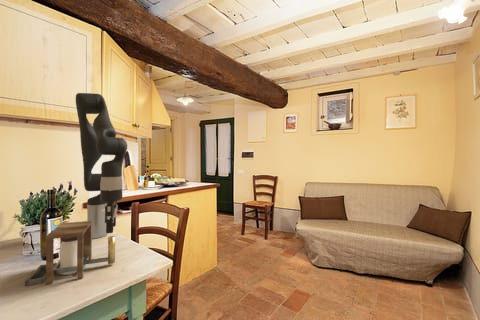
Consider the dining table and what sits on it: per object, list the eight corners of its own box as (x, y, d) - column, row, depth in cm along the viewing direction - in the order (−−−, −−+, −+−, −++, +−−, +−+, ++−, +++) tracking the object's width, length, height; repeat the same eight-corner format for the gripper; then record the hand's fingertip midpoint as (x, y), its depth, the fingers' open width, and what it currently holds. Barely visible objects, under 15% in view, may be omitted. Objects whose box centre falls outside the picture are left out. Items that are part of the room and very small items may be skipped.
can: (70, 276, 80) (70, 242, 80) (55, 274, 81) (55, 241, 81) (86, 268, 86) (86, 236, 86) (72, 266, 87) (72, 235, 87)
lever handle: (60, 265, 86) (60, 238, 86) (116, 257, 93) (116, 233, 93) (51, 277, 78) (51, 247, 78) (113, 267, 85) (113, 240, 85)
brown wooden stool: (61, 264, 89) (61, 223, 89) (91, 260, 93) (91, 220, 93) (46, 284, 75) (46, 235, 74) (82, 278, 79) (82, 232, 78)
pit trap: (40, 269, 85) (40, 265, 85) (56, 266, 87) (56, 262, 87) (24, 286, 74) (24, 281, 74) (44, 282, 76) (44, 278, 76)
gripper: (103, 186, 94) (103, 225, 94) (96, 190, 80) (96, 236, 80) (123, 185, 96) (123, 223, 96) (120, 190, 83) (120, 234, 83)
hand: (111, 229), depth 88 cm, fingers open, 8 cm apart
